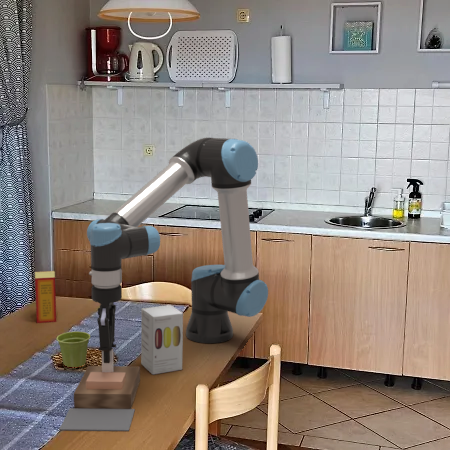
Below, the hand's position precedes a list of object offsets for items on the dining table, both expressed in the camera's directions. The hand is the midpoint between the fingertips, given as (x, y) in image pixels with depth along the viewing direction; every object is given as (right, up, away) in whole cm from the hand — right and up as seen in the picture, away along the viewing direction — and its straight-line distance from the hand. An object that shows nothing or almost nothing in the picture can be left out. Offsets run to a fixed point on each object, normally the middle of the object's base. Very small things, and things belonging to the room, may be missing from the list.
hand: (107, 373), depth 179 cm
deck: (0, -5, 0) cm, 6 cm away
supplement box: (+12, -2, +19) cm, 23 cm away
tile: (0, -2, -3) cm, 4 cm away
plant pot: (-13, -2, +19) cm, 23 cm away
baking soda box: (-32, +6, +61) cm, 69 cm away
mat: (0, -8, -14) cm, 16 cm away
